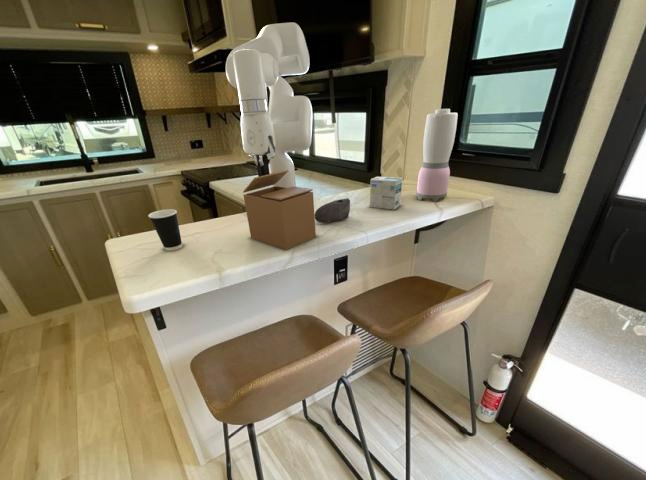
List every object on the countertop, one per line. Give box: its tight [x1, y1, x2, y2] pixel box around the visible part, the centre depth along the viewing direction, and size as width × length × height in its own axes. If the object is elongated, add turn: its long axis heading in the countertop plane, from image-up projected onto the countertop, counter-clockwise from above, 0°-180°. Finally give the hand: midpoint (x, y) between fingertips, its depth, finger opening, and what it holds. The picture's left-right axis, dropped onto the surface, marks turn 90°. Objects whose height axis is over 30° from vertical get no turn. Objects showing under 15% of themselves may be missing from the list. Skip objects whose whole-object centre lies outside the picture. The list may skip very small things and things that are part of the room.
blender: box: [415, 108, 459, 202], centre depth 124 cm, size 16×12×32 cm
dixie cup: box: [147, 208, 183, 251], centre depth 95 cm, size 8×8×11 cm
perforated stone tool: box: [314, 197, 351, 224], centre depth 110 cm, size 15×5×7 cm, turn 116°
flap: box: [242, 170, 288, 194], centre depth 94 cm, size 8×13×1 cm
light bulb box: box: [369, 176, 403, 210], centre depth 121 cm, size 11×7×11 cm, turn 58°
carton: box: [242, 186, 317, 251], centre depth 96 cm, size 17×13×15 cm
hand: (264, 178), depth 94 cm, fingers closed
